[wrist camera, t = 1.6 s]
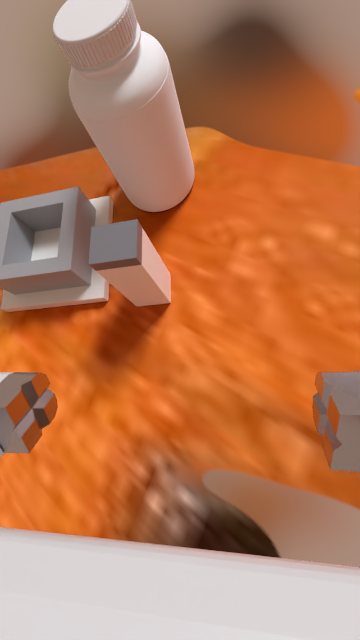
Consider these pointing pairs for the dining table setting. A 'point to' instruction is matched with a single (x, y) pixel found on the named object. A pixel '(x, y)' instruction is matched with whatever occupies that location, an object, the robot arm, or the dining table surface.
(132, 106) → the pill bottle
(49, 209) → the socket
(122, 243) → the plug
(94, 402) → the dining table surface
